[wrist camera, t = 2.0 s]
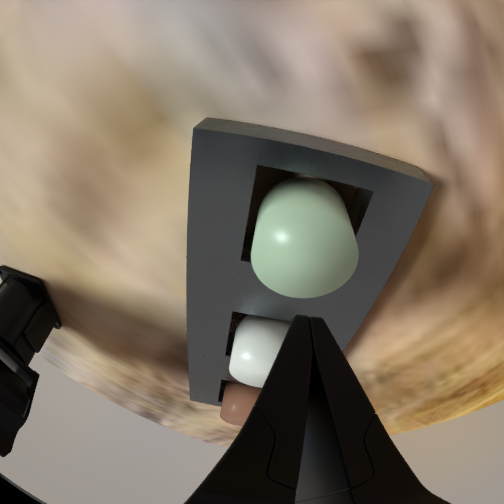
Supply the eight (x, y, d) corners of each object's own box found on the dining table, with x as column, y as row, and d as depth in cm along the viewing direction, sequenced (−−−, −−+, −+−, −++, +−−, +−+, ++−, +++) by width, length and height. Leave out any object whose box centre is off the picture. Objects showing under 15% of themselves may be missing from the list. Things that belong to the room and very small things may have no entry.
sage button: (252, 245, 14) (244, 288, 12) (266, 168, 12) (260, 201, 10) (331, 260, 14) (337, 304, 12) (357, 189, 12) (374, 226, 10)
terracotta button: (223, 393, 25) (218, 422, 22) (227, 374, 22) (221, 406, 20) (267, 400, 25) (264, 429, 22) (276, 381, 22) (273, 414, 20)
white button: (233, 344, 20) (226, 381, 17) (240, 306, 17) (232, 348, 15) (290, 353, 20) (288, 391, 17) (306, 317, 17) (307, 360, 15)
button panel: (194, 382, 27) (190, 400, 25) (206, 117, 12) (193, 128, 10) (294, 398, 27) (293, 416, 25) (417, 166, 12) (434, 184, 10)
